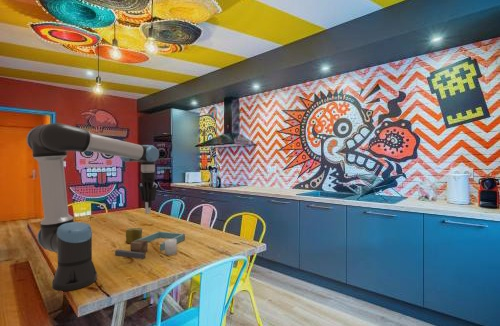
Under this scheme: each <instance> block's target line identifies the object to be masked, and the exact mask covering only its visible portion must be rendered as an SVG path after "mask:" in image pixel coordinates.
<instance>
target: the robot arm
mask: <svg viewBox="0 0 500 326" xmlns="http://www.w3.org/2000/svg"><path fill="white" fill-rule="evenodd" d="M26 144H27V146H28V147H29V149H31V150H32V158H33V159H34V160H36V161H37V162H38V172H39V173H38V174H39V181H40V182H39V183H40V190H41V191H40V192H41V201H42V209H43V210H42V211H43V219H42V220H41V221H40V224H39V225H40V229H39V231H38V233H37V236H36V237H37V242H38V244H39V246H40V247H42V249H44V250H47V251H50V252H54V253H56V254H57V268H56V270H55V274H54V277H53V279H52V282H51V283H52V284H51V285H52V287H51V288H52V289H53V290H54V291H58V292H68V291H73V290H74V291H75V290H78V289H82V288H85V287H87V286H90V285H92V284H93V283H95V282H96V281H97V280H98V273H97V269H96V267H95V264H94V262H93V245H92V244H93V243H92V241H93V239H92V238H93V237H92V236H93V231H92V226H91V225H90V224H89V223H87V222H83V221H82V222H81V221H80V222H78V221H75V222H74V216H73V215H71V214H70V213H69V203H68V194H67V183H66V173H65V165H64V164H65V163H64V159H66V158H67V157H68V152H78V153H85V152H93V153H98V154H104V155H107V156H110V155H111V156H115V157H119V158H120V160H121V161H122V162H124V163H125V162H127V163H133V162H134V163H135V162H136V163H137V162H138V163H140V172H141V173H140V179H141V183H138V184H137V186H138V189H139V195H140V200H141V201H142V202H144V208H145V209H144V211H145V215H146V214H151V213H152V210H151V209H152V207H153V206H152V204H153V203H152V202H153V201H155V200H156V195H157V191H158V187H159V184H157V183H156V181H155V179H156V161H158V159H159V157H160V151H159V150H158V148H157V147H155V146H154V145H151V144H137V143H133V142H129V141H125V140H121V139H115V138H112V137H107V136H103V135H100V134H95V133H92V132H90V131H89V130H88V129H86V128H80V127H76V126H74V125H70V124H65V123H61V122H53V123H52V122H51V123H47V124H39V125H38V126H35V127H33V128H32V129H30V131H28V133H27V135H26Z"/></svg>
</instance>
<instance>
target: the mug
mask: <svg viewBox="0 0 500 326" xmlns="http://www.w3.org/2000/svg"><path fill="white" fill-rule="evenodd" d="M141 238H143V227H133V228H132V227H129V228H126V229H125V240H126V243H127V244H130V243H131V242H133V241H135V240H138V239H141Z"/></svg>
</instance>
